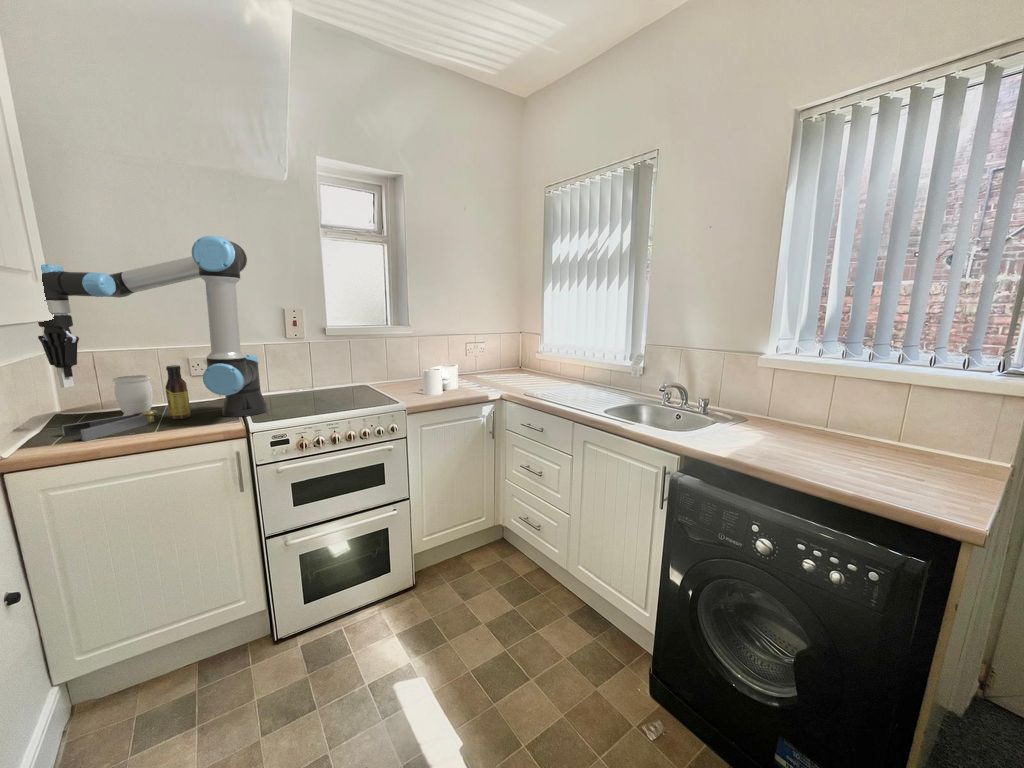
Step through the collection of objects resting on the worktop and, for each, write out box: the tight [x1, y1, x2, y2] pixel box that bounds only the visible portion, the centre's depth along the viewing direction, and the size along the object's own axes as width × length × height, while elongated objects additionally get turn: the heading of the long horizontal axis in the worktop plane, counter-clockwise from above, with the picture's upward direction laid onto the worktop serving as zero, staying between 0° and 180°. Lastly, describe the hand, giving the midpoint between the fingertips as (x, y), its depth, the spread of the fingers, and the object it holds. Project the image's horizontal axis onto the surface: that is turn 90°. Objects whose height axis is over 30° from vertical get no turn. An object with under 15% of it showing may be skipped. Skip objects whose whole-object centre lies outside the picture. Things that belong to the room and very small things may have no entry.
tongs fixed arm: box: [79, 414, 155, 442], centre depth 139 cm, size 22×3×4 cm, turn 171°
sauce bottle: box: [165, 364, 192, 420], centre depth 154 cm, size 6×6×20 cm
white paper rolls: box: [421, 363, 459, 396], centre depth 210 cm, size 25×10×12 cm, turn 160°
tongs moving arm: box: [61, 409, 158, 438], centre depth 141 cm, size 24×4×4 cm, turn 146°
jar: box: [112, 374, 154, 416], centre depth 156 cm, size 11×10×15 cm
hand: (67, 386), depth 136 cm, fingers closed
